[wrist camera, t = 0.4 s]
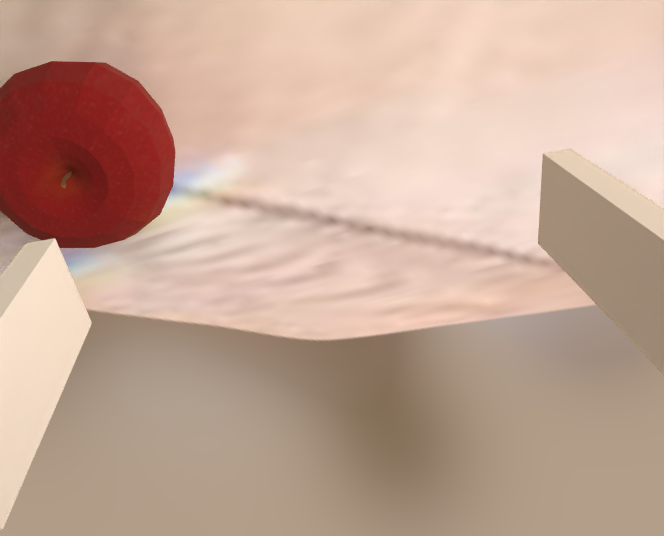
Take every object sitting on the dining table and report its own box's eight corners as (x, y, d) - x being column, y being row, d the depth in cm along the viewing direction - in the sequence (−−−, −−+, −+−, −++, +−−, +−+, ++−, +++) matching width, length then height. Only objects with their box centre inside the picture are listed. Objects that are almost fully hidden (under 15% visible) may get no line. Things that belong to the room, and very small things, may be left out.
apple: (104, 6, 36) (46, 27, 26) (221, 135, 41) (209, 197, 31) (-11, 115, 38) (-107, 174, 28) (111, 225, 43) (68, 310, 33)
